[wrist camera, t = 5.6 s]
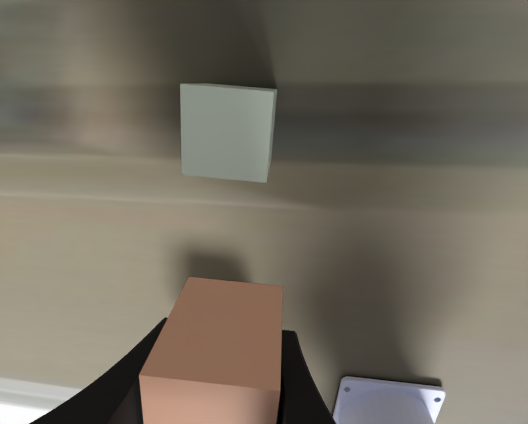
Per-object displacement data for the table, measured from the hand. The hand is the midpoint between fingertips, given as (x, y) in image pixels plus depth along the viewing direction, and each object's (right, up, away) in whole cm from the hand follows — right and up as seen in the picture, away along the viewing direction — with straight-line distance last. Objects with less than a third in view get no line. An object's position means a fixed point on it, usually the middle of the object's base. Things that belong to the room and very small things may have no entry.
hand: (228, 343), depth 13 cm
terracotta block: (0, +1, +1) cm, 1 cm away
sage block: (0, +11, +6) cm, 12 cm away
